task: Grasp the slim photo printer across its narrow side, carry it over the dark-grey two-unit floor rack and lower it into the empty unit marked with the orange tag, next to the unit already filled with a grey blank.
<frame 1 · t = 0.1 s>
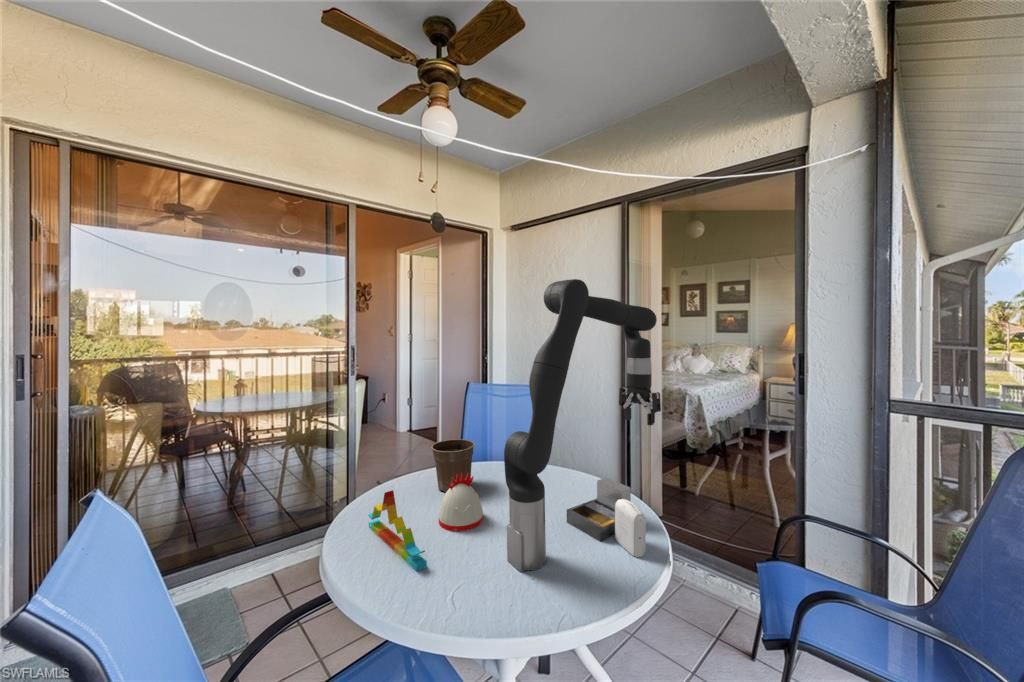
hand: (639, 422, 130), 29 cm above the table, fingers open, 8 cm apart
plant pot: (454, 487, 155), on the table
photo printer: (629, 547, 112), on the table
rack: (603, 523, 125), on the table
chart: (395, 546, 115), on the table
kitchen timer: (461, 520, 129), on the table
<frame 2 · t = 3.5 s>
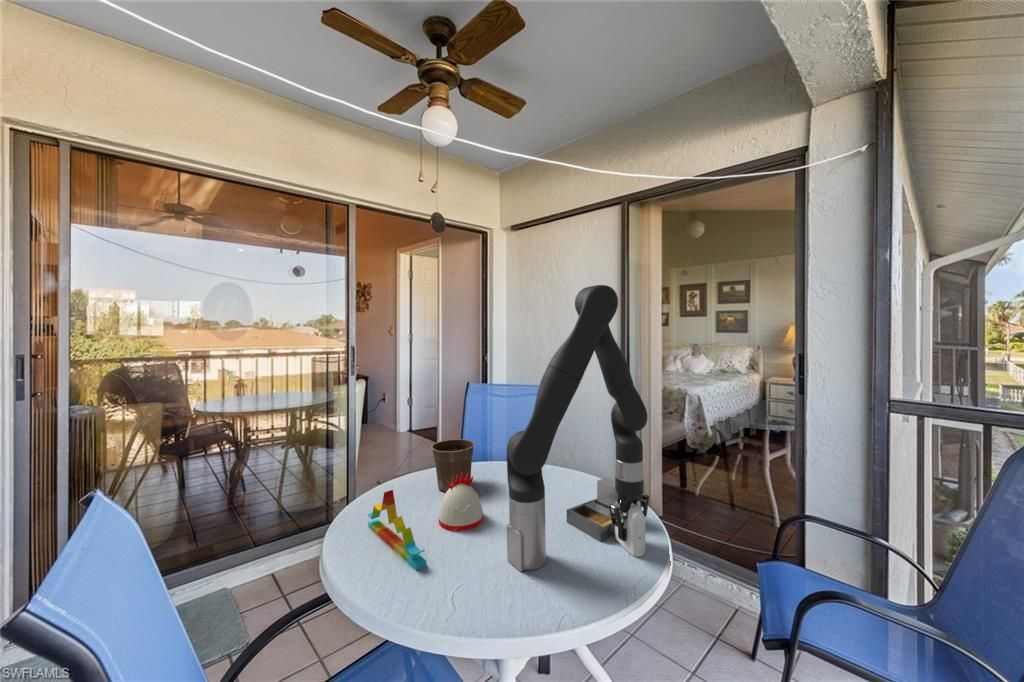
hand: (629, 536, 112), 3 cm above the table, fingers closed on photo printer, 5 cm apart
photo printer: (629, 547, 112), on the table, touching gripper
everything else where it was.
when the fingers open (6 cm above the table, at t = 8.6 s): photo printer stays where it is, resting on rack.
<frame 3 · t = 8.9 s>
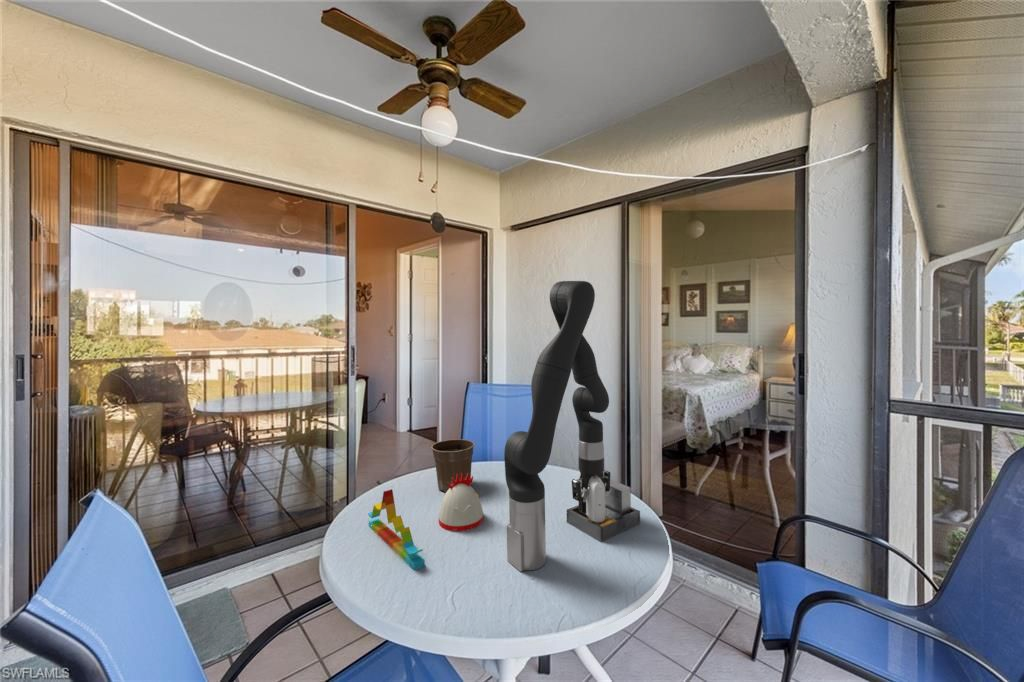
hand: (591, 509, 122), 6 cm above the table, fingers open, 6 cm apart
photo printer: (592, 515, 122), point 4 cm above the table, touching rack
everything else where it was.
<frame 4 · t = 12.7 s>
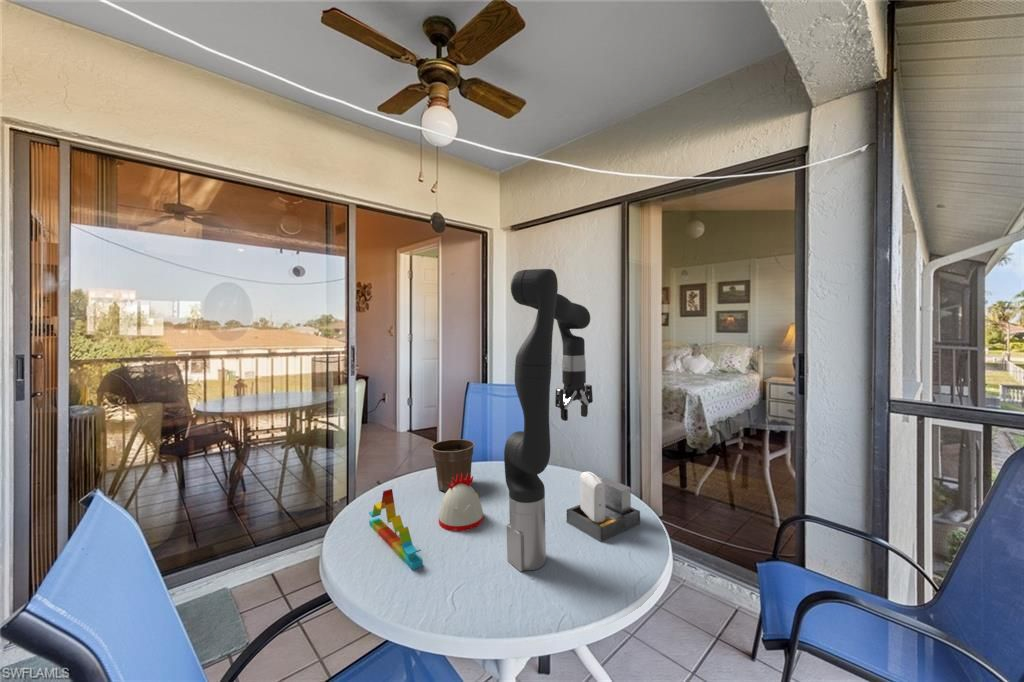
hand: (574, 418, 134), 30 cm above the table, fingers open, 8 cm apart
at the end: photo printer inside the target area on the rack (0.2 cm from its centre), point 3.8 cm above the rack's base; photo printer tilted 0°; the gripper is holding nothing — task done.
